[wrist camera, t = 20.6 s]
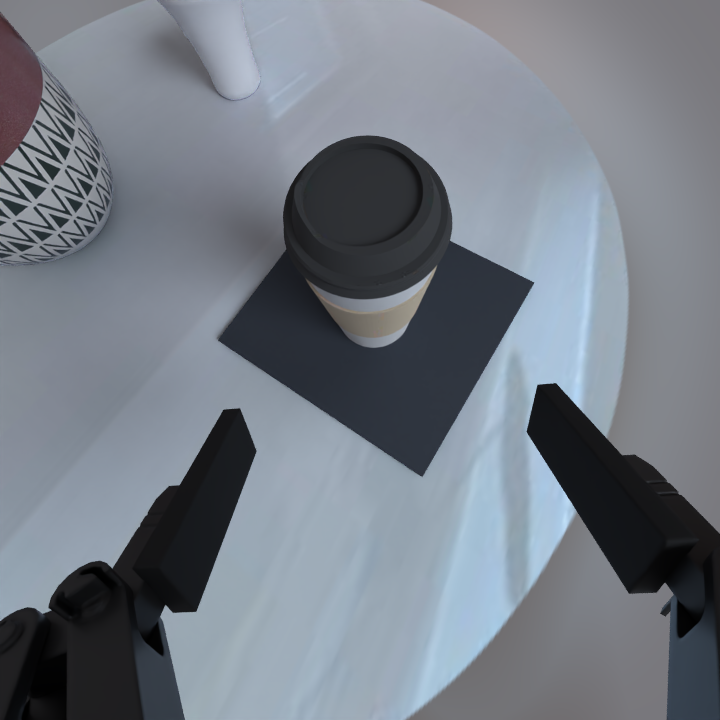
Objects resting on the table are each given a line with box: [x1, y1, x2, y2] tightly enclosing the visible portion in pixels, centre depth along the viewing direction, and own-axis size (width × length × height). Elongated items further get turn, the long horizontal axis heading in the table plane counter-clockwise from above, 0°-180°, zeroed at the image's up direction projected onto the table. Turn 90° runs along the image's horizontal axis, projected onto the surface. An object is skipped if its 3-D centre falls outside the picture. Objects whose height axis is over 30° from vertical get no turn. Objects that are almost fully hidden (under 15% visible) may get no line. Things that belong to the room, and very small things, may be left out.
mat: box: [218, 241, 534, 476], centre depth 29 cm, size 22×20×1 cm
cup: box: [157, 0, 261, 100], centre depth 33 cm, size 9×9×10 cm
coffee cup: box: [283, 136, 452, 348], centre depth 22 cm, size 9×9×15 cm
